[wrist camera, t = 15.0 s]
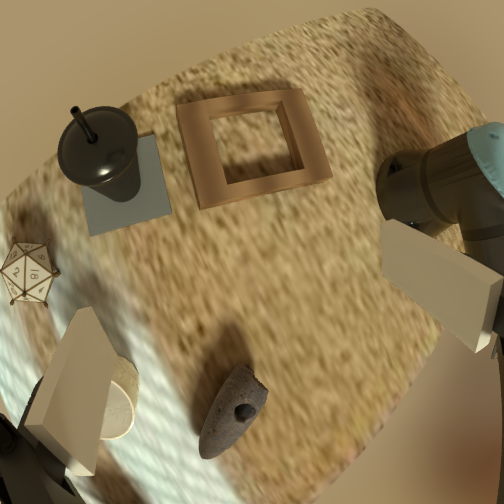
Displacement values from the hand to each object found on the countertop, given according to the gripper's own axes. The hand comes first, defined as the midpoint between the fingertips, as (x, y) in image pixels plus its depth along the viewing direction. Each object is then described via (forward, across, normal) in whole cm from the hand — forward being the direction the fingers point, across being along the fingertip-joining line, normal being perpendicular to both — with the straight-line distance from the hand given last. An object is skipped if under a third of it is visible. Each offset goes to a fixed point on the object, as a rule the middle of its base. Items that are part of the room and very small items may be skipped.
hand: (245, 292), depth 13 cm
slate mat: (+29, -11, +4) cm, 31 cm away
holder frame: (+32, +7, +4) cm, 33 cm away
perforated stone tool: (+18, -6, -26) cm, 33 cm away
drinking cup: (+29, -10, +4) cm, 31 cm away
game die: (+25, -24, -3) cm, 35 cm away
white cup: (+19, -19, -18) cm, 33 cm away
